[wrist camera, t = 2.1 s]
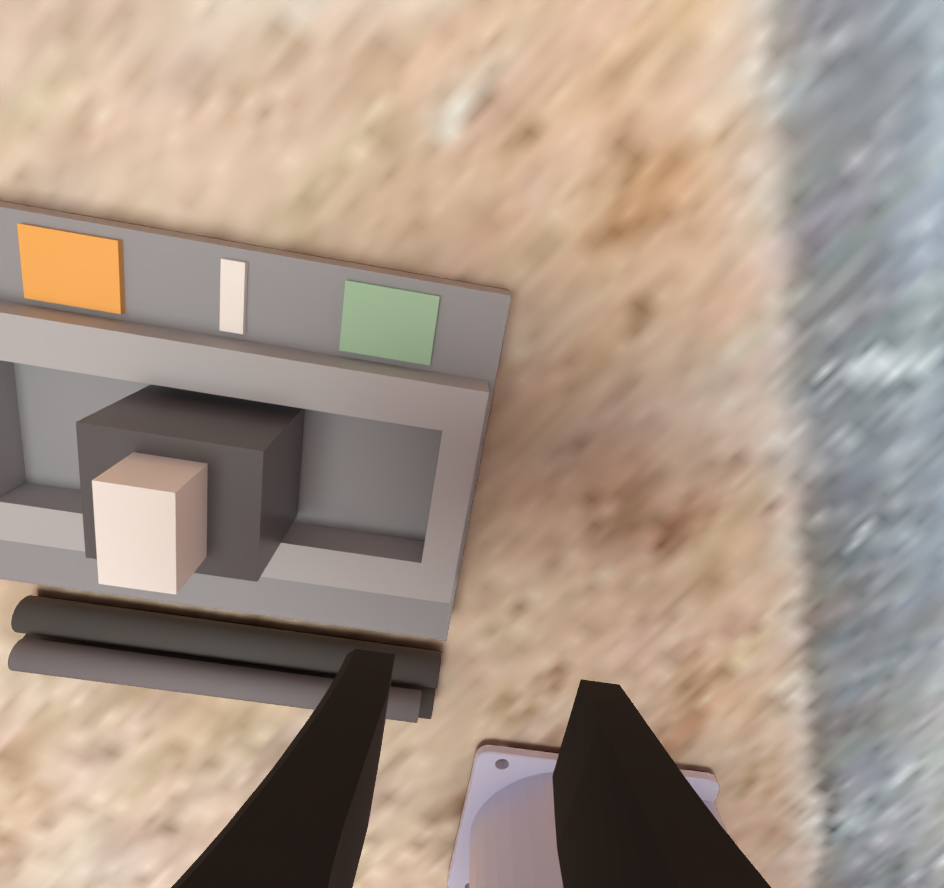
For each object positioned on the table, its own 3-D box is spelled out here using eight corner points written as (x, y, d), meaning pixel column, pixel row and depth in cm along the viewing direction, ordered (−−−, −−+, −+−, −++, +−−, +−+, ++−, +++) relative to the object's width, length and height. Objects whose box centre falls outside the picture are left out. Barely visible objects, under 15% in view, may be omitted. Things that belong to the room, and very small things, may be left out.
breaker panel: (507, 289, 16) (514, 301, 14) (448, 611, 20) (444, 667, 18) (-8, 199, 16) (-101, 194, 13) (32, 552, 19) (-35, 602, 17)
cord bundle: (441, 644, 21) (438, 689, 19) (431, 700, 22) (427, 749, 20) (35, 588, 20) (-14, 629, 18) (42, 649, 21) (-4, 694, 19)
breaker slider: (304, 405, 16) (237, 479, 11) (297, 515, 17) (233, 621, 13) (155, 381, 16) (25, 447, 11) (158, 494, 17) (41, 595, 12)
